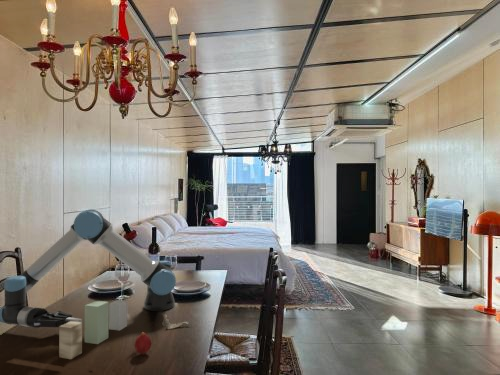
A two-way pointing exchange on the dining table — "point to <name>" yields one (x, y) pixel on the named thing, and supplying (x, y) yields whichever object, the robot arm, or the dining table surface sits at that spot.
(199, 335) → the dining table surface
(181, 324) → the jawbone
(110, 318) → the grey block
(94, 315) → the pale green block
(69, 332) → the birch block
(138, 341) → the red pomegranate
